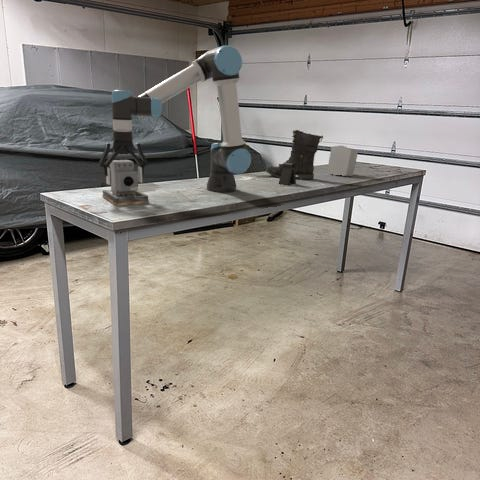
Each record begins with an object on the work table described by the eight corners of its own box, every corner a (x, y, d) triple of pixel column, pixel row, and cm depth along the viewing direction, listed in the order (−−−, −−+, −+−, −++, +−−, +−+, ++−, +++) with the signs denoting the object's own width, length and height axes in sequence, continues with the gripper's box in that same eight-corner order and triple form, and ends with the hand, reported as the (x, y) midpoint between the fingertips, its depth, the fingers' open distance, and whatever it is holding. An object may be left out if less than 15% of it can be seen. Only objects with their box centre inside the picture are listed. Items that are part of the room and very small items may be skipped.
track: (133, 194, 185) (133, 188, 184) (148, 203, 171) (148, 196, 170) (102, 197, 178) (102, 190, 177) (115, 205, 164) (115, 198, 163)
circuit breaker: (122, 201, 166) (120, 164, 162) (111, 195, 178) (109, 160, 173) (139, 200, 170) (138, 163, 166) (128, 193, 182) (127, 159, 177)
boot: (266, 174, 267) (269, 128, 258) (318, 178, 261) (323, 131, 253) (264, 176, 256) (267, 128, 247) (318, 180, 251) (323, 131, 242)
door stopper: (287, 185, 229) (288, 163, 225) (278, 184, 232) (280, 162, 229) (296, 184, 235) (297, 162, 232) (287, 182, 239) (289, 161, 235)
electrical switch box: (356, 179, 281) (362, 149, 277) (345, 177, 270) (351, 146, 266) (337, 176, 290) (342, 147, 286) (326, 174, 279) (332, 144, 275)
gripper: (148, 130, 176) (149, 180, 182) (88, 129, 162) (91, 183, 168) (155, 131, 170) (156, 183, 176) (93, 130, 156) (96, 186, 163)
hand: (124, 183), depth 172 cm, fingers open, 13 cm apart
